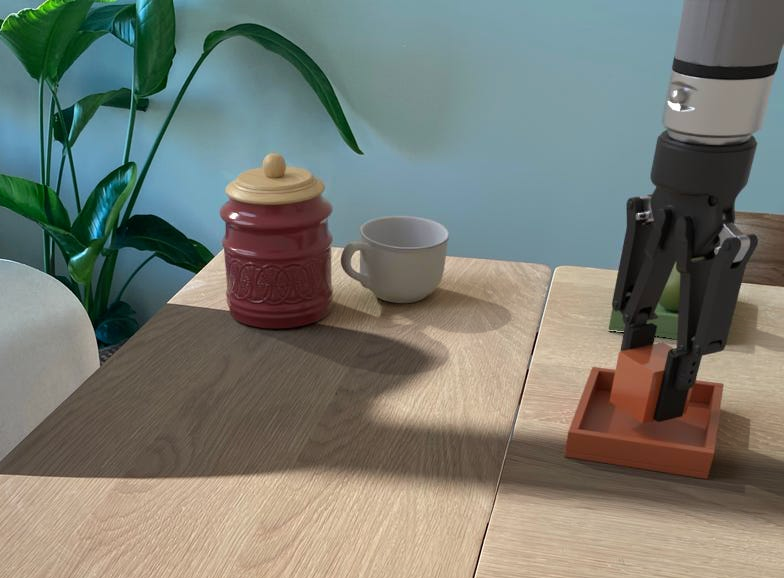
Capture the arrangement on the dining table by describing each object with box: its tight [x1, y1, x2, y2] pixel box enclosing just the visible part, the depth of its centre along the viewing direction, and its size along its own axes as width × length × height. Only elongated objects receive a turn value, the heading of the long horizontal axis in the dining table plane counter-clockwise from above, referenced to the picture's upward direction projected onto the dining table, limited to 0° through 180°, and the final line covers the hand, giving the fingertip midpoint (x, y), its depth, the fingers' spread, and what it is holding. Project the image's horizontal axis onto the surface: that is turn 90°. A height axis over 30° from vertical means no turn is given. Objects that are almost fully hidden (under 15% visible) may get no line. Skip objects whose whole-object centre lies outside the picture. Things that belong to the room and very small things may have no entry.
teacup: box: [340, 215, 450, 304], centre depth 119 cm, size 14×11×8 cm
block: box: [610, 341, 693, 424], centre depth 90 cm, size 5×5×5 cm
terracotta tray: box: [563, 366, 724, 480], centre depth 93 cm, size 15×13×3 cm
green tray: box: [608, 292, 695, 340], centre depth 114 cm, size 15×13×3 cm
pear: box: [658, 257, 703, 311], centre depth 111 cm, size 6×5×10 cm
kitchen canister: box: [219, 152, 334, 330], centre depth 113 cm, size 13×13×18 cm
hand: (647, 404), depth 92 cm, fingers closed on block, 5 cm apart
